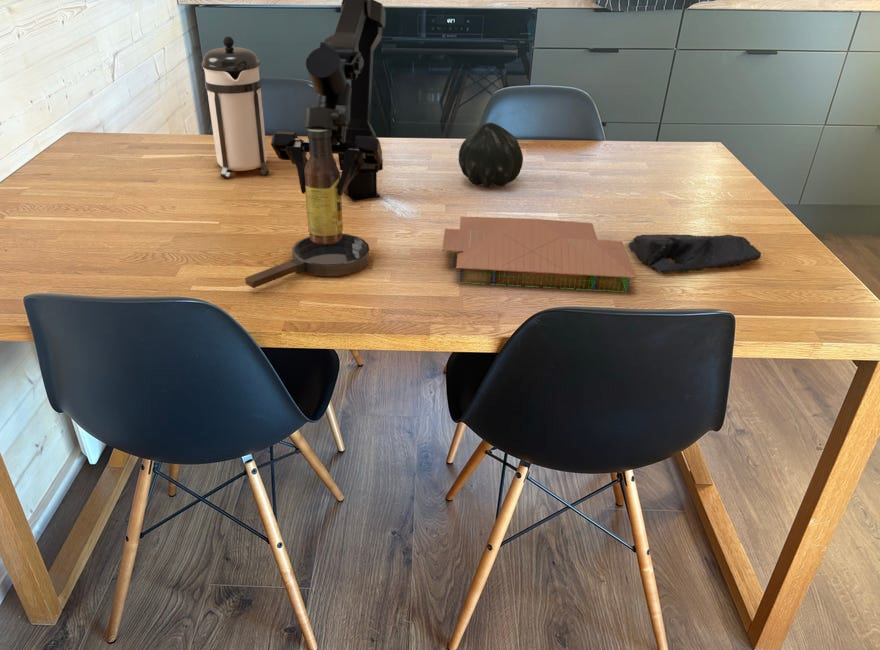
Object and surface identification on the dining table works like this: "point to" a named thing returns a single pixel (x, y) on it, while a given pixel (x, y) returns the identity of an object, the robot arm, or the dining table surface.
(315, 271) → the cast iron pan
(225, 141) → the coffee press
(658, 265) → the dark slate chunk
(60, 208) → the dining table surface
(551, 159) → the dining table surface
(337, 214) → the sauce bottle
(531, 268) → the house
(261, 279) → the pan handle
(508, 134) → the squash
